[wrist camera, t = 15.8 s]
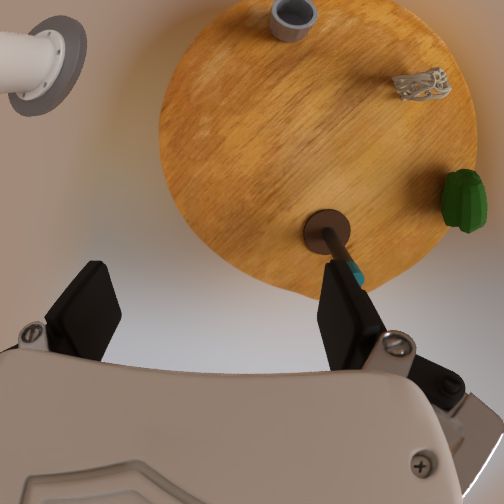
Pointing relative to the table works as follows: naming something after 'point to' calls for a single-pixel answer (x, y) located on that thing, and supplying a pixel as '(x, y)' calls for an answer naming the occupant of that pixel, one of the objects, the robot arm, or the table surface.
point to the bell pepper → (464, 201)
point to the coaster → (321, 222)
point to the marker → (341, 252)
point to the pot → (292, 19)
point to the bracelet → (420, 78)
